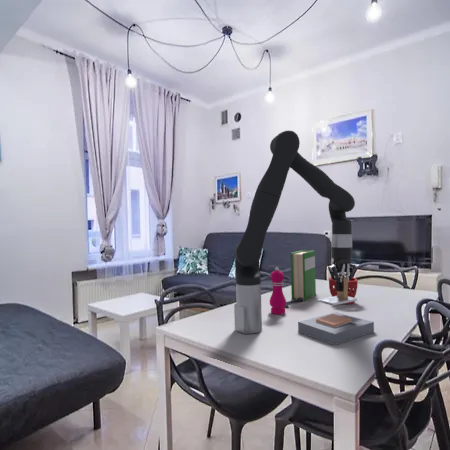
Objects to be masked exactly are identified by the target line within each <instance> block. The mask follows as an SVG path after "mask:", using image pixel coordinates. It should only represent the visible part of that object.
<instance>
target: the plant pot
mask: <svg viewBox="0 0 450 450" xmlns="http://www.w3.org/2000/svg"><path fill="white" fill-rule="evenodd" d="M334 277H335V276H334ZM338 277H340V276H338ZM328 289H329V292H330V295H331V297H333V296H337V290H336V281H335V280H332V278H331V276H330V277H329V278H328ZM357 291H358V279H357V278H355V277H352V279H349V281H348V296H349V297H353V298H356V295H357ZM355 303H356V301H353V302H348V303H343V304H342V305H345V306H346V305H353V304H355Z"/></svg>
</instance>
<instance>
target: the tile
mask: <svg viewBox="0 0 450 450" xmlns="http://www.w3.org/2000/svg"><path fill="white" fill-rule="evenodd" d="M329 314H330V315H327V314H326V315H327V316H324V317H321V318H318V319H316V322H318V323H321V324H324V325H327V326H331V327H334V328H335V327H338V326H341V325H343V324H346V323H349V322H351V319H350V318H347V317H343V316H339V315H336V314H331V313H329Z"/></svg>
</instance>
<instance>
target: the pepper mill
mask: <svg viewBox="0 0 450 450" xmlns="http://www.w3.org/2000/svg"><path fill="white" fill-rule="evenodd" d="M269 278H270V280H271V286H272V293H271V296H270V298H269V306H271V308H270V313H271V314H273V315H284V314H285V313H286V308H284V307H285V305H286V302H287V300H286V298H285V297H286V296H285V295H284V292H283V286H284V282H283V281H284V279H285V274H284V273H283V272H282V271H281V270H280V269H279V267H278V266H276V267H275V268H274V271H272V272H271V273H270V276H269Z"/></svg>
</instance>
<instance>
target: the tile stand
mask: <svg viewBox="0 0 450 450" xmlns="http://www.w3.org/2000/svg"><path fill="white" fill-rule="evenodd" d="M330 314H336V315H339V316H343V317H347V318H350V319H351V322H349V323H346V324H343V325H341V326H338V327H335V328H334V327H331V326H327V325H324V324H321V323H318V322H316V319H318V318H321V317H324V316H327V315H330ZM374 324H375V322H374V321H373V320H368V319H364V318H360V317H356V316H352V315H348V314H344V313H341V312H338V311H335V312H331V313H328V314H324V315H320V316H315V317H312V318H308V319H303V320H300V321H297V332H298V333H301V334H303V335H307V336H310V337H312V338H315V339H318V340H320V341H323V342H325V343H328V342H329V343H328V344H331V343H332V344H331V345H334V344H335V345H334V346H336V344H337V345H339V343H340V344H342V342H343V343H345V342H348V341H351V340H353V339H357V338H361V337H363V336H366V335H369V334H371V333H374V332H375V325H374ZM356 337H357V338H356ZM350 339H351V340H350ZM347 340H348V341H347Z"/></svg>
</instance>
